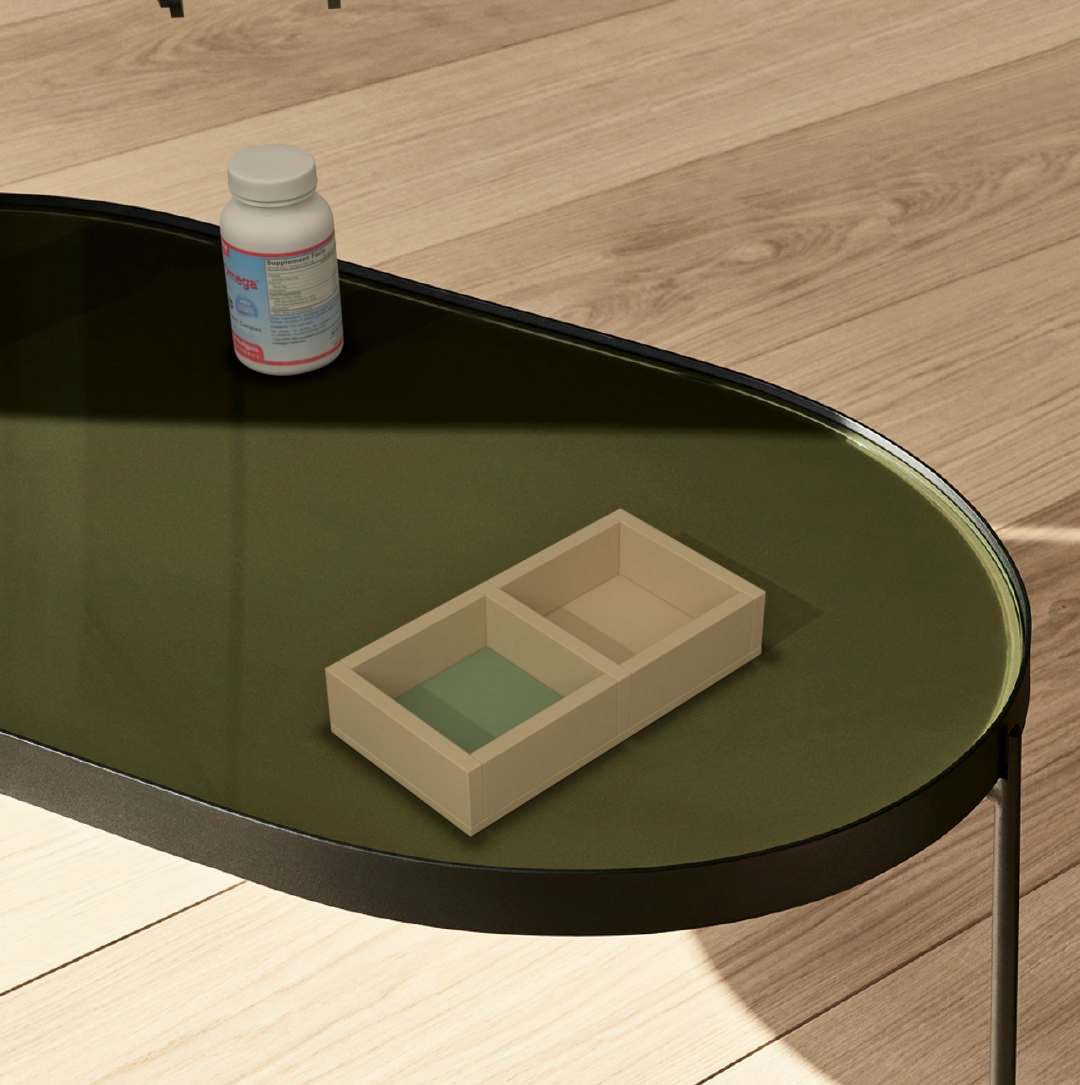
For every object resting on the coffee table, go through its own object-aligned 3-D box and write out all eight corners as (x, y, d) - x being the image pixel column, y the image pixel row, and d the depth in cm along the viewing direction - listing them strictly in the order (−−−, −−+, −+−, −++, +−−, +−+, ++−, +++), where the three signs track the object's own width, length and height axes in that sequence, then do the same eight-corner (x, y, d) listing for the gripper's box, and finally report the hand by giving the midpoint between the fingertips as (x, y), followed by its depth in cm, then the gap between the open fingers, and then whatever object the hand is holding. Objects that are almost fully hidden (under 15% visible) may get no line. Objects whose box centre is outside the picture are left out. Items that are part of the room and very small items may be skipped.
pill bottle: (224, 337, 111) (200, 147, 103) (328, 318, 112) (311, 130, 105) (249, 388, 106) (225, 194, 99) (357, 368, 108) (342, 175, 101)
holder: (470, 837, 79) (467, 772, 77) (330, 731, 84) (324, 668, 82) (761, 654, 88) (766, 591, 86) (619, 568, 93) (620, 507, 91)
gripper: (87, -312, 103) (114, -17, 102) (358, -324, 105) (388, -33, 103) (106, -230, 111) (131, 46, 109) (358, -242, 112) (386, 30, 111)
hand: (256, 7), depth 106 cm, fingers open, 8 cm apart
